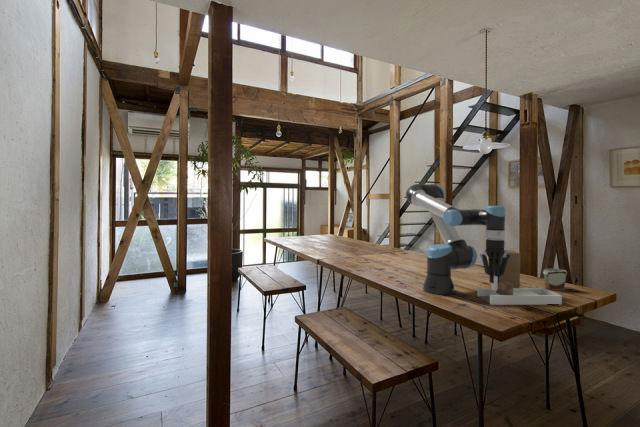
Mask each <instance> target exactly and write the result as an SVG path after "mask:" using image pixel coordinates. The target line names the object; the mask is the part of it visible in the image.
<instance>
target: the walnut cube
mask: <svg viewBox="0 0 640 427" xmlns="http://www.w3.org/2000/svg"><path fill="white" fill-rule="evenodd" d="M496 293H498V294H500V295H513V285H512V284H510V283H508V282H499V283H498V284H497V291H496Z"/></svg>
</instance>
